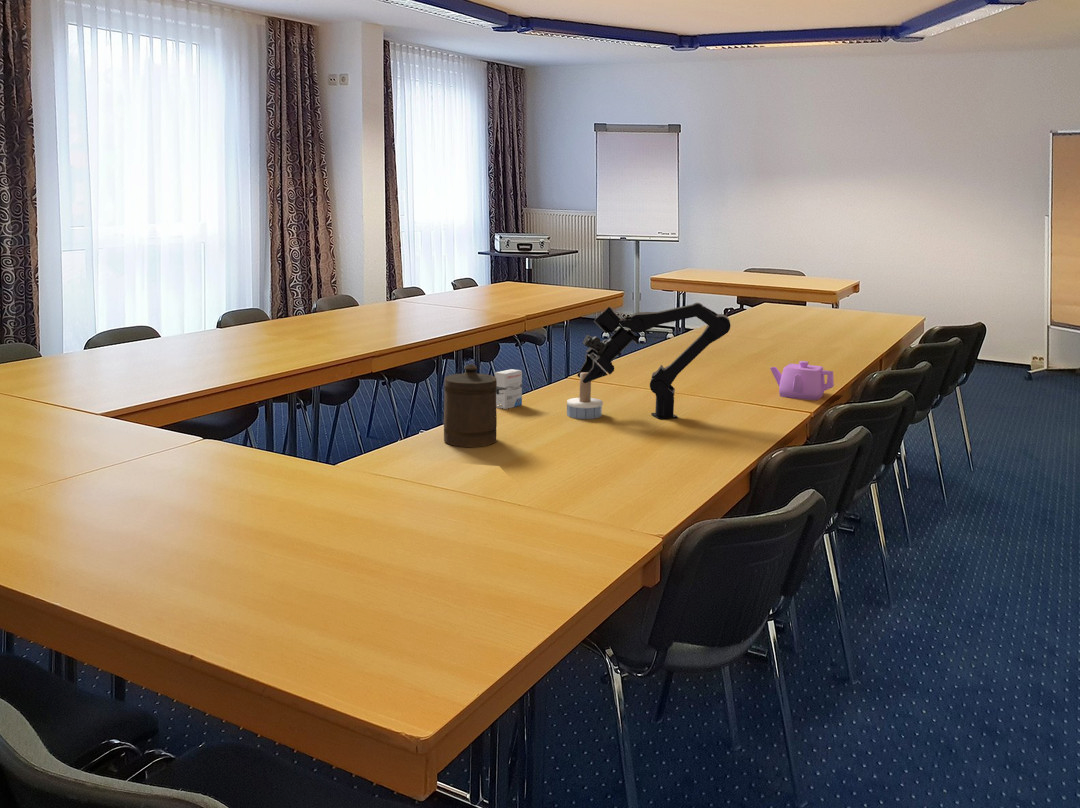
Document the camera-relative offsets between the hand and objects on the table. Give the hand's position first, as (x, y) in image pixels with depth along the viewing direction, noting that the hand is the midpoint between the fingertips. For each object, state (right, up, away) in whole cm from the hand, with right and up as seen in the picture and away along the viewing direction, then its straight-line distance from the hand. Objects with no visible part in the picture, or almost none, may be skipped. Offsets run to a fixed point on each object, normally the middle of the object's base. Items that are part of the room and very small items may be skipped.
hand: (580, 379), depth 300 cm
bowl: (+1, -11, +3) cm, 12 cm away
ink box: (-23, -9, +14) cm, 28 cm away
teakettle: (+79, -5, +36) cm, 87 cm away
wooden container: (-32, -18, -30) cm, 48 cm away
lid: (+1, -8, +2) cm, 8 cm away
